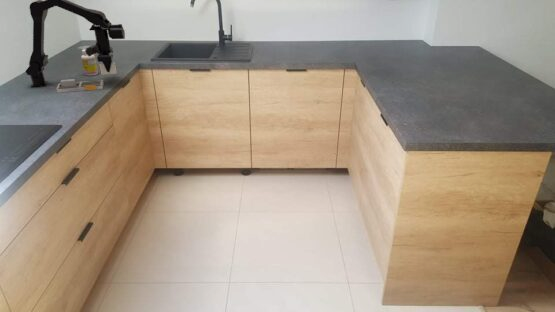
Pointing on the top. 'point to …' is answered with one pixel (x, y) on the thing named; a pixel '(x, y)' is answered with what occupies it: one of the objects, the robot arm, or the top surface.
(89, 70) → the supplement bottle
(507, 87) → the top surface
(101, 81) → the rack
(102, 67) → the white panel
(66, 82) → the grey filler panel
